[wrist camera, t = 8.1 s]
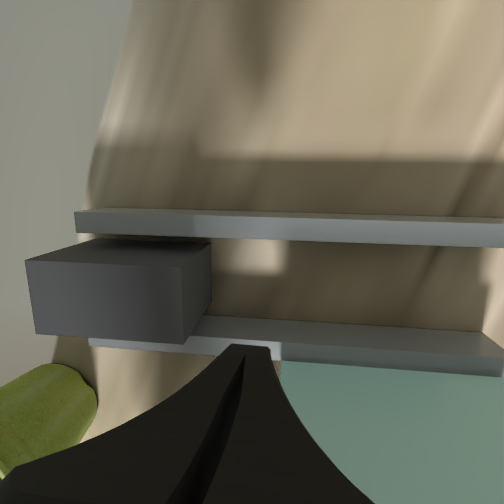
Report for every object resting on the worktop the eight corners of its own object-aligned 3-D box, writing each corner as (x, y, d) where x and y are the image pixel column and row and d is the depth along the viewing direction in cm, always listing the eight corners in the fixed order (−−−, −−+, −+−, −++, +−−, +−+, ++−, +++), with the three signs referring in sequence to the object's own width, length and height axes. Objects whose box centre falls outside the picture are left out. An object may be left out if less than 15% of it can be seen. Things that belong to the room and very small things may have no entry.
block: (212, 300, 21) (183, 344, 16) (101, 293, 22) (35, 333, 16) (211, 242, 20) (180, 267, 15) (96, 238, 21) (24, 260, 16)
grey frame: (472, 381, 20) (547, 463, 15) (117, 353, 23) (58, 412, 17) (504, 217, 18) (610, 236, 12) (104, 207, 21) (30, 218, 15)
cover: (506, 377, 17) (503, 384, 17) (280, 360, 18) (280, 366, 18) (678, 609, 9) (668, 614, 9) (273, 551, 11) (272, 557, 11)
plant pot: (11, 435, 26) (-121, 557, 18) (1, 333, 24) (-154, 416, 15) (117, 456, 25) (32, 594, 17) (118, 352, 23) (21, 450, 15)
